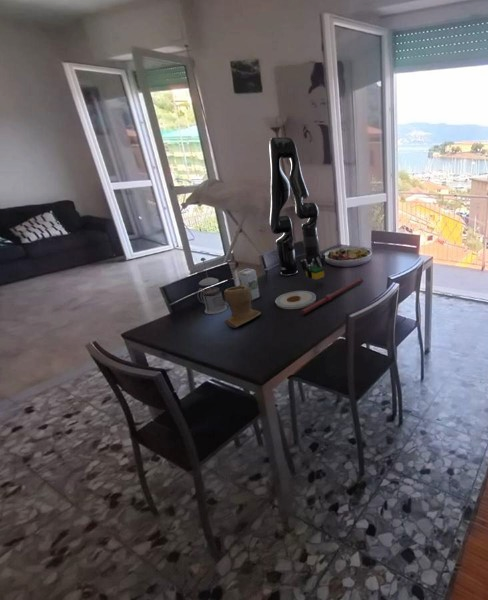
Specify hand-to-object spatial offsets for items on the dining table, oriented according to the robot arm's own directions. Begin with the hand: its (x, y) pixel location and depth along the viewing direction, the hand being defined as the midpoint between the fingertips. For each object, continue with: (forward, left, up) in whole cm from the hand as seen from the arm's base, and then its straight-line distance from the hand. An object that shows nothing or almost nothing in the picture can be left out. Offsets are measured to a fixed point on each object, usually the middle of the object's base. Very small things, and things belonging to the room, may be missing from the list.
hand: (315, 276), depth 183 cm
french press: (-16, -46, -7) cm, 49 cm away
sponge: (0, 0, 0) cm, 0 cm away
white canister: (-15, -28, -7) cm, 33 cm away
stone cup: (+4, -43, -7) cm, 44 cm away
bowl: (-21, +41, -7) cm, 47 cm away
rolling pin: (+17, -1, -7) cm, 18 cm away
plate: (+5, -16, -7) cm, 18 cm away
